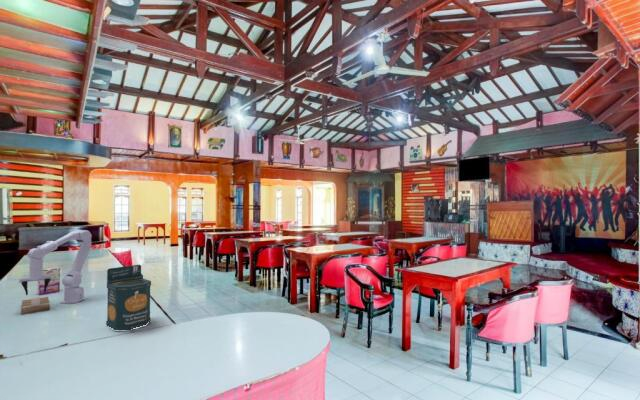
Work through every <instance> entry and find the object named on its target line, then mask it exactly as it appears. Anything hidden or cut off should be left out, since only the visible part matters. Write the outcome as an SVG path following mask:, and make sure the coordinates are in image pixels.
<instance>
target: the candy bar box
mask: <svg viewBox="0 0 640 400" xmlns="http://www.w3.org/2000/svg"><path fill="white" fill-rule="evenodd" d="M60 270H61V269H60V267H51V268H49V267H48V268H43V276H50V275H52V276H53V278H52V279H50V282H49V284H48V286H47V288H46V293H44V280H38V279H37V280H38V281H37V295H38V296H43V295H48V294H49V295H50V294H54V293H55V294H56V293H60V291H61V287H60V286H61V285H60V284H61V283H60V282H61V281H60V279H61V276H60V275H61V271H60Z"/></svg>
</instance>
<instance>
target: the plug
mask: <svg viewBox="0 0 640 400" xmlns="http://www.w3.org/2000/svg"><path fill="white" fill-rule="evenodd" d="M40 298H41V297H40V296H35V297H31V298H30V299H31V307H34V306H40Z"/></svg>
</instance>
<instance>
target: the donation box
mask: <svg viewBox="0 0 640 400" xmlns="http://www.w3.org/2000/svg"><path fill="white" fill-rule="evenodd" d="M106 273H107V274H106V277H107V278H106V289H107V308H106V309H107V310H106V311H107V316H106V317H107V319H106V321H105V325H107V326H106V327H108V326H109V327H111V328H113V329H114V330H131V329H133V328H136V327H140V326H143V325H146V324H147V323H148V322H150V321H152V319H151V286H152V281H151V280H149V279H145V278H144V275H143V273H142V265H141V264H134V265H133V264H132V265H127V266H119V267H112V268H111V267H110V268H108V269H107V270H106ZM150 323H151V322H150ZM109 327H108V328H109ZM111 328H110V329H111ZM114 330H113V331H114ZM131 331H132V330H131Z"/></svg>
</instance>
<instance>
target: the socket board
mask: <svg viewBox="0 0 640 400" xmlns="http://www.w3.org/2000/svg"><path fill="white" fill-rule="evenodd" d="M21 301H22V302H21V308H20V315H21V316H22V315H27V314H34V313H35V314H36V313H41V312H45V311H47V312H48V311H50V308H51V307H50V305H51V304H50V299H49V296H45V297H40V306H34V307H31V298H30V299H23V300H21Z"/></svg>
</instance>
